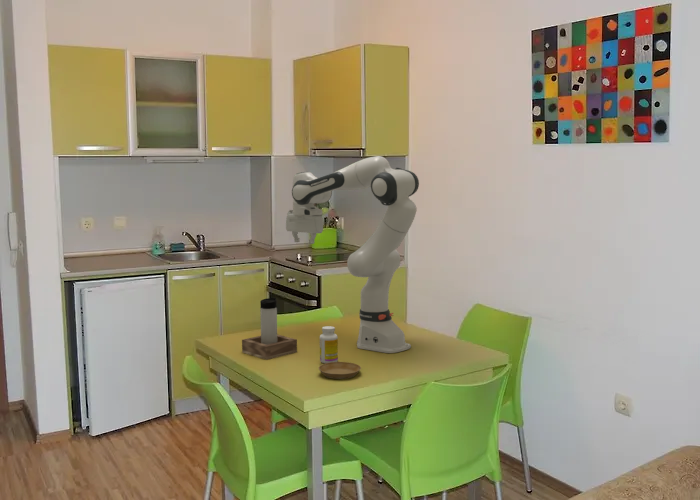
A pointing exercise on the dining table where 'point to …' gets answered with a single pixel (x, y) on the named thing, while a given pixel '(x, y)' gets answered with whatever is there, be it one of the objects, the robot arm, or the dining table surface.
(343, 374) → the plant saucer
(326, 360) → the supplement bottle
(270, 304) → the travel mug
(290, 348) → the square wooden tray
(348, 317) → the dining table surface
